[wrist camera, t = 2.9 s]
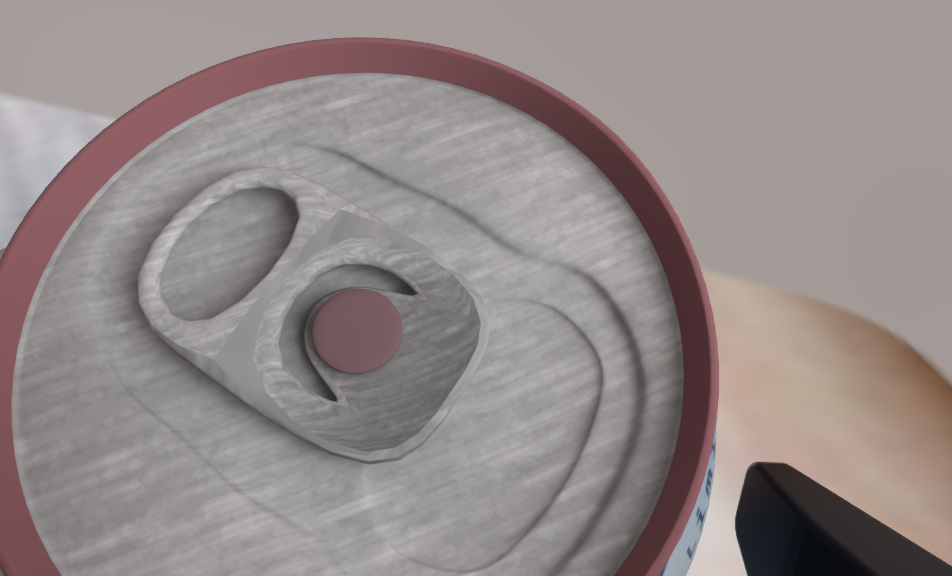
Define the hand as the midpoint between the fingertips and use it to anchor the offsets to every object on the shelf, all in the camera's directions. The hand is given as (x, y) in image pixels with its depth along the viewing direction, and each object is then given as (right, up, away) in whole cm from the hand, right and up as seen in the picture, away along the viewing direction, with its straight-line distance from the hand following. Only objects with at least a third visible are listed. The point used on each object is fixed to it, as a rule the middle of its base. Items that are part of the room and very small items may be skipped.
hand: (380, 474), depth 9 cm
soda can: (0, -3, +8) cm, 9 cm away
